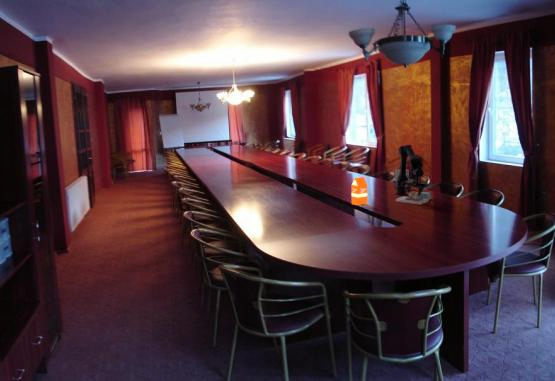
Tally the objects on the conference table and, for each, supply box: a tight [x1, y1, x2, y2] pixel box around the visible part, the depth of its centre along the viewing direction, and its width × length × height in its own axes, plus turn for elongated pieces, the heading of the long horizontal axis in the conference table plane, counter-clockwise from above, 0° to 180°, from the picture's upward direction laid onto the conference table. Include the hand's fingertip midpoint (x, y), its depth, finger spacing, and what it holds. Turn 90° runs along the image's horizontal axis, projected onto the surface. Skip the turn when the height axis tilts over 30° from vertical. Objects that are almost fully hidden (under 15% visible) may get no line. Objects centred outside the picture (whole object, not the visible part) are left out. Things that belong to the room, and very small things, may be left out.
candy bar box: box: [393, 169, 410, 190], centre depth 408 cm, size 11×5×16 cm, turn 62°
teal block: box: [420, 191, 432, 201], centre depth 364 cm, size 6×6×5 cm
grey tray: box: [395, 195, 429, 205], centre depth 357 cm, size 20×12×3 cm, turn 47°
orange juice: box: [350, 176, 368, 206], centre depth 354 cm, size 8×9×20 cm
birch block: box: [408, 191, 420, 199], centre depth 355 cm, size 6×6×5 cm
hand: (414, 195), depth 355 cm, fingers open, 7 cm apart
